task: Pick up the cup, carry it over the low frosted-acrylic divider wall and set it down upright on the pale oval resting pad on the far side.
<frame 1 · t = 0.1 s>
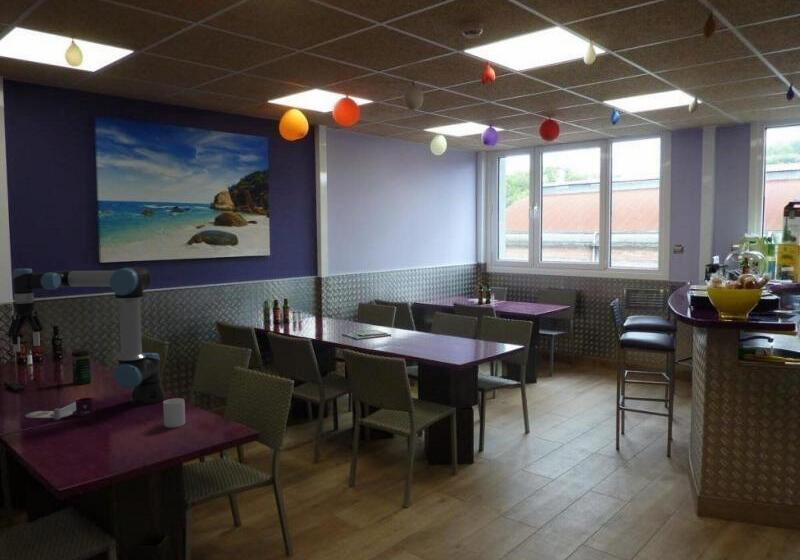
hand: (27, 348, 273), 28 cm above the table, fingers open, 13 cm apart
divider wall: (68, 413, 266), on the table
cup: (84, 414, 266), on the table
cup 2: (173, 424, 251), on the table
coffee jar: (82, 383, 321), on the table
resting pad: (49, 414, 265), on the table
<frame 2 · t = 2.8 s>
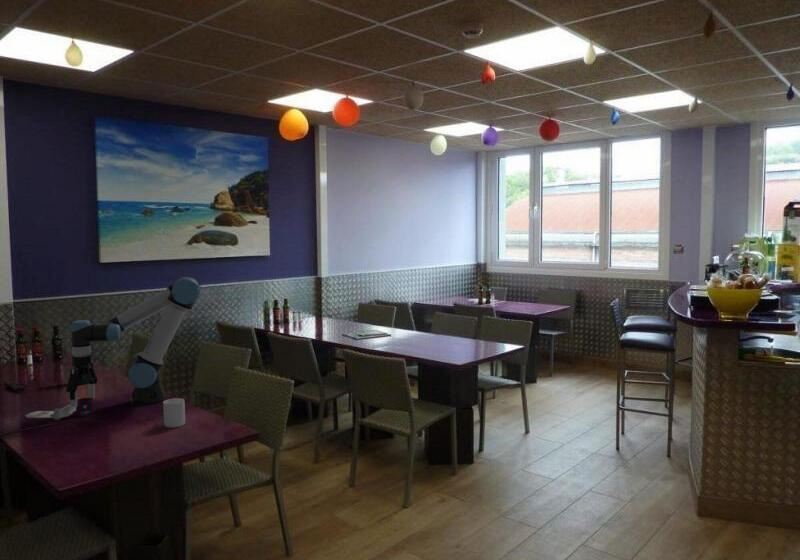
hand: (82, 402, 265), 5 cm above the table, fingers open, 13 cm apart
nothing on the table moved.
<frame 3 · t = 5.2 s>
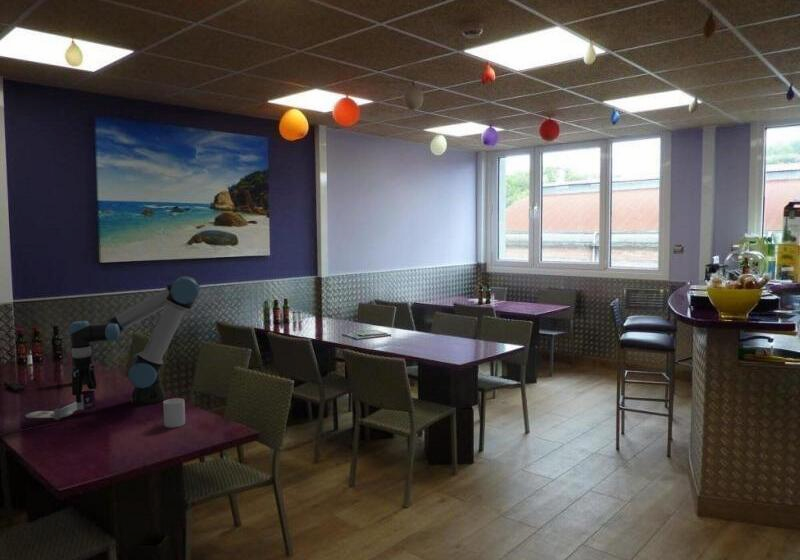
hand: (86, 406, 266), 3 cm above the table, fingers closed on cup, 8 cm apart
cup: (87, 406, 267), point 3 cm above the table, touching gripper
everything else where it was.
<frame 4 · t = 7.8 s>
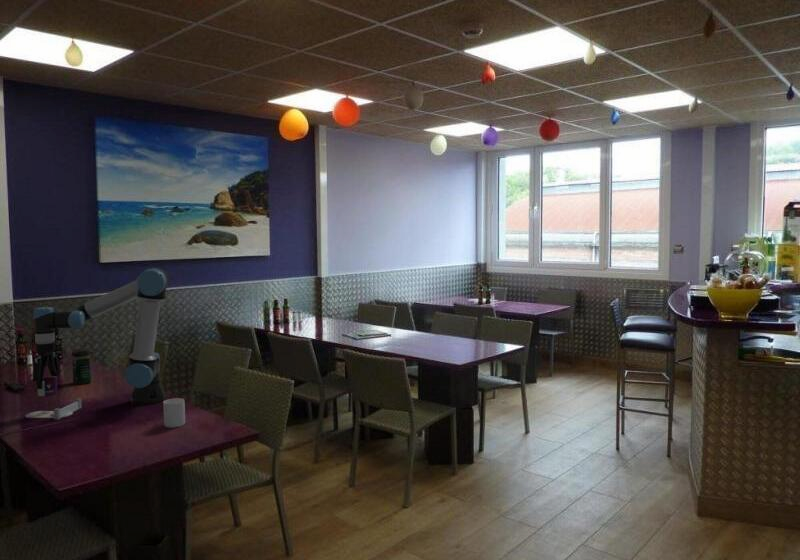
hand: (47, 393, 264), 10 cm above the table, fingers closed on cup, 8 cm apart
cup: (48, 393, 265), point 9 cm above the table, touching gripper
everything else where it was.
when the fingers open (1 cm above the table, at t = 10.2 s): cup stays where it is, resting on resting pad.
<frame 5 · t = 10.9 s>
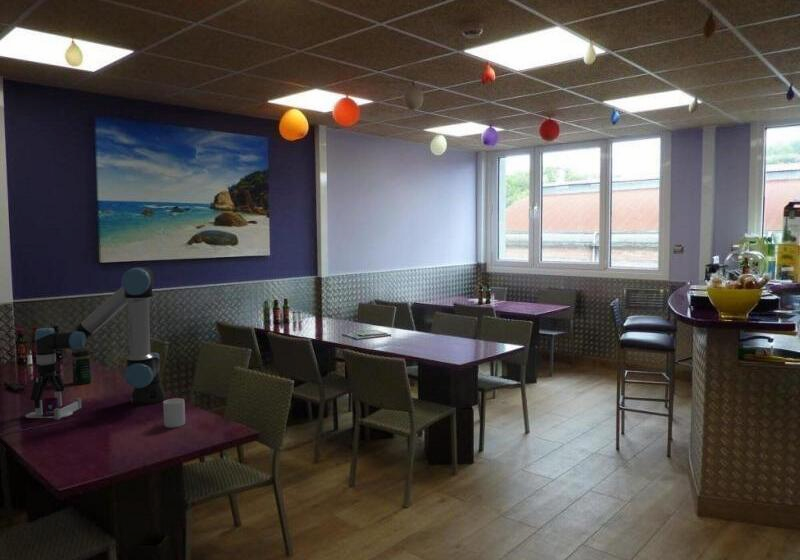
hand: (49, 410, 265), 2 cm above the table, fingers open, 13 cm apart
cup: (50, 414, 265), resting on resting pad
everything else where it was.
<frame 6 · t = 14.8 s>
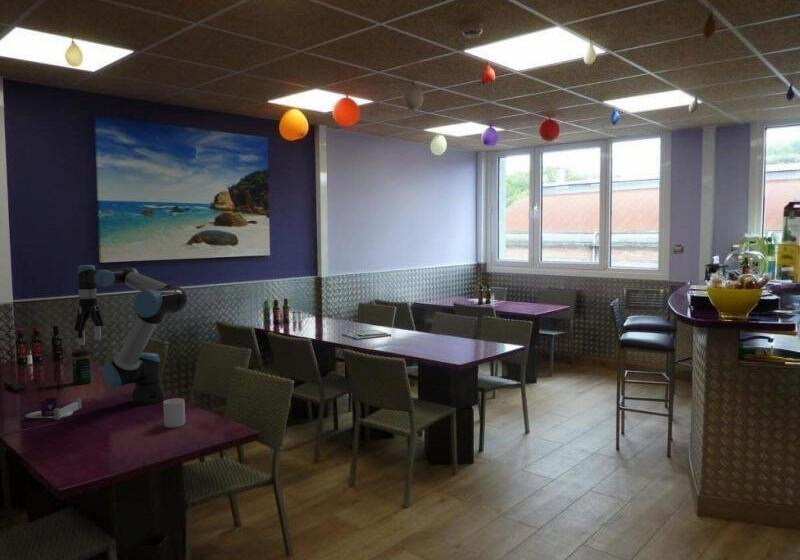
hand: (90, 342, 283), 29 cm above the table, fingers open, 13 cm apart
nothing on the table moved.
at the end: cup inside the target area on the resting pad (0.8 cm from its centre), point 0.1 cm above the resting pad's base; cup tilted 0°; the gripper is holding nothing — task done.
